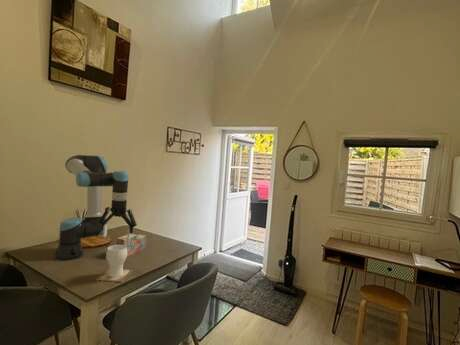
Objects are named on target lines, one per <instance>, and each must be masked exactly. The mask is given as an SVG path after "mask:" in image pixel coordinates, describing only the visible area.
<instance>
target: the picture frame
mask: <svg viewBox="0 0 460 345" xmlns="http://www.w3.org/2000/svg"><path fill="white" fill-rule="evenodd" d="M133 271H134V270H133V269H130V268H123V275H121V276H119V277H109V276H108V272H109V267H107V269H106V270H104V271H103V272H102V273H101V274H99V275H98V276H97V277H96V278H95V280H94V281H99V280H101V282H110V281H111V283H123V282H124V281H125V280H126V278H127V277H128V276H130V275H131V273H133Z"/></svg>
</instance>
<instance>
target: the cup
mask: <svg viewBox="0 0 460 345" xmlns="http://www.w3.org/2000/svg"><path fill="white" fill-rule="evenodd" d="M127 257H128V256H127V247H126V246H124V245H117V244H114V245H113V244H112V245H110V246H108V247H107V250H106V253H105V258H106V261H107V263H108V266H109V267H108V268H109V272H108V276H109V277H119V276H121V275H123V269H124V263H125V261H126V259H127Z"/></svg>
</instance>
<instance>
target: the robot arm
mask: <svg viewBox="0 0 460 345" xmlns="http://www.w3.org/2000/svg"><path fill="white" fill-rule="evenodd" d="M64 166H65V169H66V170H67V172H68V173H70V174H72V175H74V176H75V183H76V186H77V187H79V188H80V187H82V188H83V187H84V188H87V190H86V192H87V193H86V195H87V196H86V198H87V199H86V201H87V203H86V204H87V205H86V206H87V207H86V208H87V210H86V215H85V216H84V219H82V218H81V217H70V218H66V219H63V220H62V221H60V224H59V234H58V235H59V236H58V237H59V239H58V240H59V242H58V246H57V248H56V252H55V254H54V258H55V260H59V261H69V260H70V261H72V260H75V259H79V258H81V257H83V256H84V249H83V245H82V239H87V238H93V237H99V236H102V237H103V238H105V237H107V236H108V235H107V234H108V222H109V221H110V220H111V219H112V218H113V217H118V218H122V219H123V220H124V221H125V223H126V224H127V226H128V228H127V235H128V237H127V240H129V239H130V238H131V234H133V233H134V228H135V227H136V226H137V225H138V224H137V222H136V219H135V217H134V214H133V209H132V208H128V209H127V199H128V187H129V186H128V185H129V172H128V171H124V170H122V171H121V170H115V171H113V172H111V171H110V172H108V163H107V160H106V158H105V157H104V156H99V155H86V154H85V155H84V154H76V155H73V156H70V157H69V158H68V159H67V160H66V161H65V164H64ZM102 187H112V191H111V193H112V194H111V207H110V206H107V207H104V208H105V210H104V212H103V210H102V207H103V206H102V205H103V204H102V203H103V202H102V198H103V196H102V194H103V192H102V189H103V188H102ZM109 212H111V213H110V214H109ZM108 214H109V216H108ZM107 216H108V217H107Z"/></svg>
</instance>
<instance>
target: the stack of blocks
mask: <svg viewBox="0 0 460 345" xmlns="http://www.w3.org/2000/svg"><path fill="white" fill-rule="evenodd" d="M127 237H128V234H125V235H123V236H119V237H117V239H116V245H124V246H126V247H127V257H129V256H131V255H134V254H136V253H138V252H140V251H142V250H145V249H147V235H145V234H135V233H131V238H130V239H129V240H127Z"/></svg>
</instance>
